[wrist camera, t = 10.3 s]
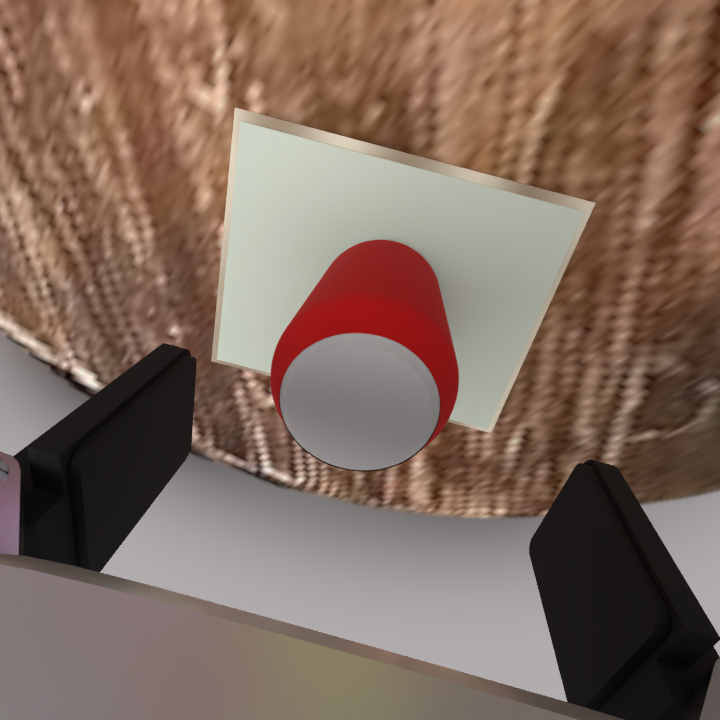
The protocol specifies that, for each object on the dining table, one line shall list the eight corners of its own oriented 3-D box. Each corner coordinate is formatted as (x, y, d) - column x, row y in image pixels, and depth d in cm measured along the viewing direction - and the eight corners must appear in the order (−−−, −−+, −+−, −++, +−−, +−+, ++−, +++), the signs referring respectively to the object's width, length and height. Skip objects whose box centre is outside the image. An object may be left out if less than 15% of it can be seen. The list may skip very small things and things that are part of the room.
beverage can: (305, 263, 23) (216, 357, 12) (414, 215, 22) (421, 276, 11) (351, 360, 25) (310, 511, 15) (454, 323, 24) (492, 462, 13)
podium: (571, 196, 24) (599, 204, 21) (482, 404, 30) (492, 437, 27) (257, 113, 24) (231, 106, 20) (232, 339, 30) (208, 364, 27)
